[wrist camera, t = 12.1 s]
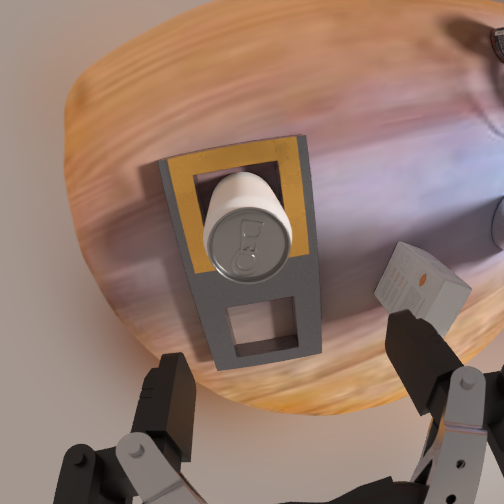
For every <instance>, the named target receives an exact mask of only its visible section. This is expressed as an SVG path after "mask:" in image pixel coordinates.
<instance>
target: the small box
mask: <svg viewBox="0 0 504 504" xmlns="http://www.w3.org/2000/svg"><path fill="white" fill-rule="evenodd" d="M471 291H472V288H471V287H470V286H469V285H468V284H467V283H465V282H464V281H463V280H462V279H461V278H459V277H458V276H457V275H456V274H455V273H453V272H452V271H451V270H450V269H449V268H448V267H446V266H445V265H444V264H442V263H441V262H440V261H439V260H437V259H436V258H435V257H434V256H432V255H431V254H430V253H428V252H427V251H425V250H422V249H420V248H417V247H415V246H412V245H409V244H407V243H404V242H401V241H398V243H397V245H396V248H395V250H394V252H393V254H392V257H391V259H390V261H389V263H388V265H387V267H386V269H385V271H384V273H383V275H382V277H381V279H380V282H379V284H378V286H377V288H376V290H375V291H374V295H375V296H376V298H377V299H378V300H379V302H380V303H381V304H382V306H383V307H384V308H385V310H386V311H387V312H388V313H389V315H390V314H391V313H394V312H398V311H401V310H405V309H409V310H410V311H411V312H412V314H413V315H414V316H415V317H416V319H419V318H422V319H424V320H425V321H427V322H429V323H430V324H432V325H433V327H434V328H435V329H436V330H437V332H438V334H440V335H441V337H442V338H444V337H445V335H446V333H447V332H448V330H449V329H450V327H451V325H452V324H453V322H454V321H455V319H456V317H457V316H458V314H459V312H460V310H461V309H462V307H463V305H464V303H465V302H466V300H467V298H468V296H469V295H470V293H471Z"/></svg>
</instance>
